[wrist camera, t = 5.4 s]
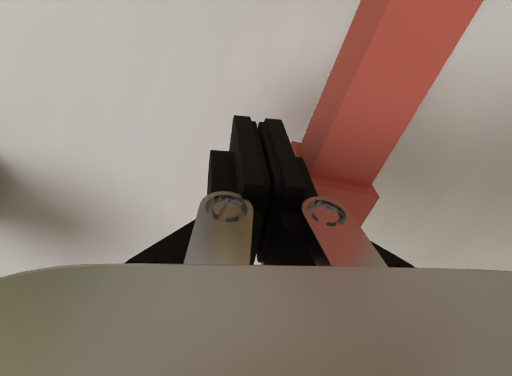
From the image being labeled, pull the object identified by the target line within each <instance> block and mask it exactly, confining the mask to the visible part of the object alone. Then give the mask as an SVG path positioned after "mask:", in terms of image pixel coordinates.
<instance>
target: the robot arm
mask: <svg viewBox="0 0 512 376" xmlns="http://www.w3.org/2000/svg"><path fill="white" fill-rule="evenodd" d="M256 254H257V260H258V262H263V265H253V264H254V261H255V257H256ZM0 376H512V271H500V270H482V269H443V268H415V267H414V266H412V265H411V264H409V263H407V262H406V261H404V260H402V259H401V258H399V257H397V256H395V255H394V254H392V253H390V252H389V251H387V250H385V249H383V248H382V247H380V246H378V245H377V244H375V243H373V242H371V241H370V240H369V239H368V237H367V236H366V235H365V233H364V232H363V230H362V229H361V227H360V226H359V225H358V223H357V222H356V220H355V219H354V217H353V216H352V214H351V213H350V212H349V210H348V209H347V208H346V207H345V206H344V205H342V204H341V203H339V202H338V201H335V200H333V199H330V198H326V197H318V194H317V192H316V189H315V187H314V184H313V182H312V179H311V177H310V174H309V172H308V170H307V167H306V165H305V162H304V160H303V158H302V157H295V154H294V152H293V149H292V146H291V144H290V141H289V138H288V136H287V133H286V130H285V128H284V125H283V122H282V120H278V119H267V118H266V119H265V121H264V122H259V124H258V129H257V124H256V122H255V121H251V118H250V117H247V116H236V115H234V118H233V125H232V133H231V141H230V149H229V151H217V150H211V151H210V159H209V171H208V188H207V196H206V197H204V198H203V199H202V201H201V203H200V206H199V209H198V213H197V217H196V219H195V220H193V221H192V222H190V223H189V224H187V225H185V226H184V227H182V228H180V229H179V230H177V231H175V232H174V233H172V234H170V235H169V236H167V237H165V238H164V239H162V240H161V241H159V242H157V243H156V244H154V245H152V246H151V247H149V248H147V249H146V250H144V251H142V252H141V253H139V254H137V255H136V256H134V257H133V258H131V259H129V260H128V261H127V262H125V263H124V264H80V265H68V266H55V267H49V268H42V269H36V270H30V271H24V272H20V273H16V274H12V275H8V276H5V277H1V278H0Z"/></svg>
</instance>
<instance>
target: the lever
mask: <svg viewBox="0 0 512 376" xmlns="http://www.w3.org/2000/svg"><path fill="white" fill-rule="evenodd" d="M482 2H483V0H361V2H360V4H359V7H358V9H357V11H356V14H355V16H354V19H353V21H352V23H351V26H350V28H349V30H348V33H347V35H346V38H345V40H344V42H343V45H342V47H341V50H340V52H339V54H338V57H337V59H336V61H335V64H334V66H333V69H332V71H331V73H330V76H329V78H328V81H327V83H326V85H325V88H324V90H323V92H322V95H321V97H320V100H319V102H318V104H317V107H316V109H315V112H314V114H313V116H312V119H311V121H310V124H309V126H308V128H307V131H306V133H305V135H304V138H303V140H302V143H298V142H294V141H292V142H291V146H292V149H293V152H294V154H295V157H302V158H303V160H304V162H305V165H306V167H307V170H308V172H309V174H310V177H311V179H312V182H313V184H314V187H315V189H316V192H317V194H318V197H326V198H330V199H333V200H335V201H338V202H339V203H341V204H342V205H344V206H345V207H346V208H347V209H348V210H349V212H350V213H351V214H352V216H353V217H354V219H355V220H356V222H357V223H358V225H359V226H360V227H361V225H362V224H363V222H364V221H365V219H366V217H367V216H368V214H369V213H370V211H371V210H372V208H373V206H374V205H375V203H376V202H377V200H378V199H379V196H378V194H377V192H376V191H375V189H374V187H373V186H372V183H373V181H374V179H375V178H376V176H377V174H378V173H379V171H380V170H381V168H382V166H383V165H384V163H385V161H386V160H387V158H388V156H389V155H390V153H391V151H392V150H393V148H394V147H395V145H396V143H397V142H398V140H399V138H400V137H401V135H402V133H403V132H404V130H405V128H406V127H407V125H408V123H409V122H410V120H411V119H412V117H413V115H414V114H415V112H416V110H417V109H418V107H419V105H420V104H421V102H422V100H423V99H424V97H425V95H426V94H427V92H428V91H429V89H430V87H431V86H432V84H433V82H434V81H435V79H436V77H437V76H438V74H439V72H440V71H441V69H442V67H443V66H444V64H445V63H446V61H447V59H448V58H449V56H450V54H451V53H452V51H453V49H454V48H455V46H456V44H457V43H458V41H459V40H460V38H461V36H462V35H463V33H464V31H465V30H466V28H467V26H468V25H469V23H470V21H471V20H472V18H473V16H474V15H475V13H476V12H477V10H478V8H479V7H480V5H481V3H482ZM261 265H263V262H261Z"/></svg>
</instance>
